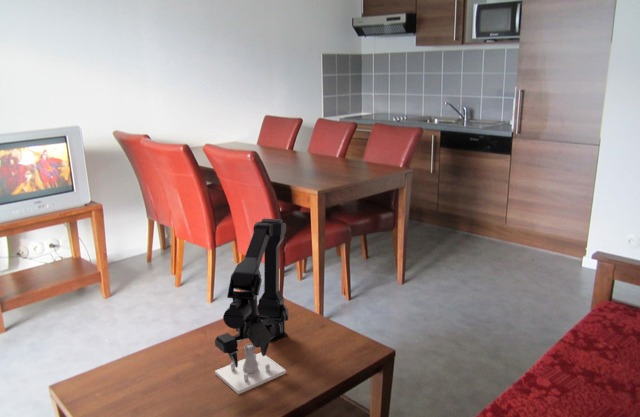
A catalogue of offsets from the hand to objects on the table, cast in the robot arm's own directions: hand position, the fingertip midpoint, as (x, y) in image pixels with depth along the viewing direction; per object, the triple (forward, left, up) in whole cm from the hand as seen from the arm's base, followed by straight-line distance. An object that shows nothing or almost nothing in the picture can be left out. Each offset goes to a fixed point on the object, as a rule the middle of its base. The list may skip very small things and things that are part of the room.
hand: (249, 361), depth 156 cm
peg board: (0, 0, -4) cm, 4 cm away
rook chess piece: (0, 0, -3) cm, 3 cm away
